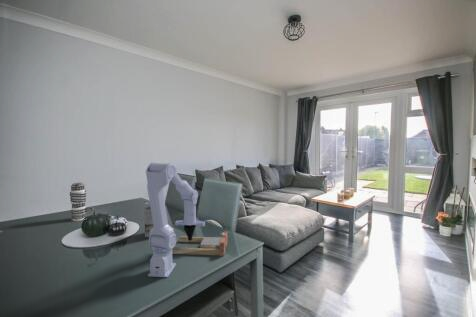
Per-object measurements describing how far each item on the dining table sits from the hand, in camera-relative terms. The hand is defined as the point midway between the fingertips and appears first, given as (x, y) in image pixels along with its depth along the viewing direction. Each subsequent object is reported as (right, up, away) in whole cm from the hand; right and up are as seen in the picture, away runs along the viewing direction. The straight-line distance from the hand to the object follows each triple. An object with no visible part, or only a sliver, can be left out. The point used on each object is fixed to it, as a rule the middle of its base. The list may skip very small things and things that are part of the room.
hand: (190, 239), depth 109 cm
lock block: (+11, -4, 0) cm, 12 cm away
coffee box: (-24, -3, +16) cm, 29 cm away
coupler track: (+5, -4, 0) cm, 6 cm away
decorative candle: (-86, -2, +42) cm, 96 cm away
